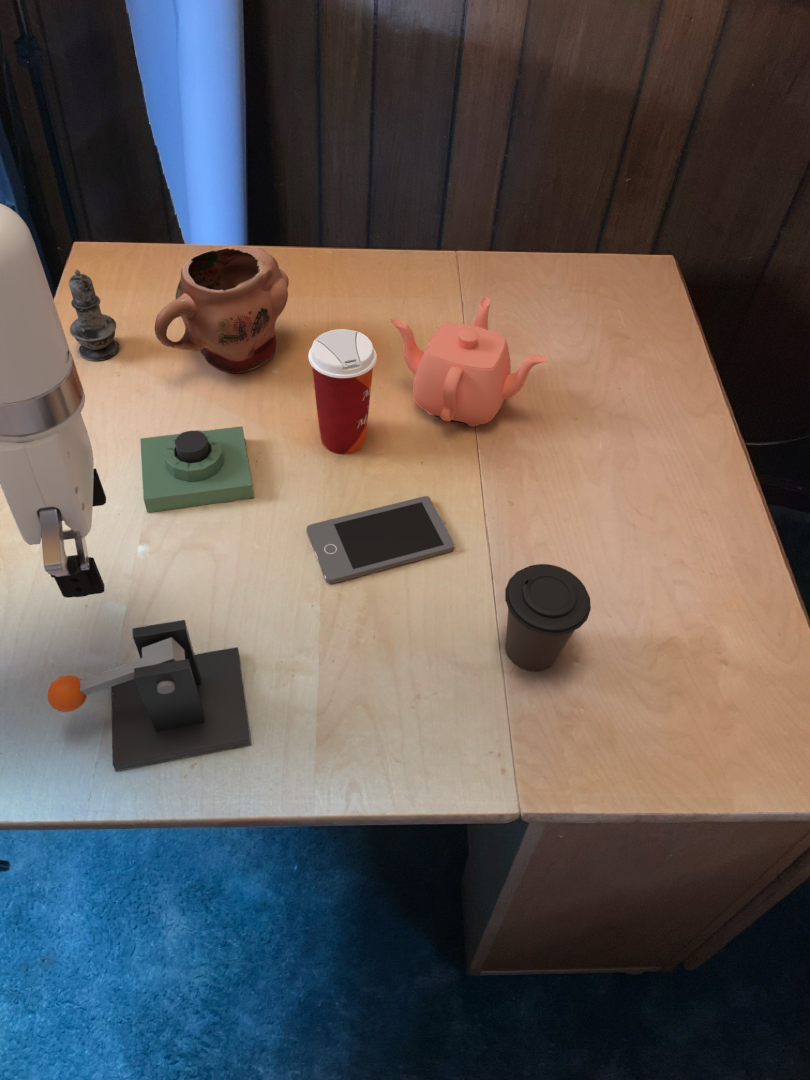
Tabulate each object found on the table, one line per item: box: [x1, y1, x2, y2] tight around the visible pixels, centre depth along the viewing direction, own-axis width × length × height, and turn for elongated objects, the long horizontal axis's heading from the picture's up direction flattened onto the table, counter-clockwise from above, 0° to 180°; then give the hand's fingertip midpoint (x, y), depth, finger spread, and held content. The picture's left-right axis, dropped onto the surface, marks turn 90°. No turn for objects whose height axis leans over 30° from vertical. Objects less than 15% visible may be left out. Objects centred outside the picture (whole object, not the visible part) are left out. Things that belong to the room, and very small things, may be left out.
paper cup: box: [308, 328, 378, 455], centre depth 95 cm, size 8×8×14 cm
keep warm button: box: [175, 430, 209, 463], centre depth 92 cm, size 4×4×2 cm
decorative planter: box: [154, 245, 290, 374], centre depth 104 cm, size 20×12×14 cm, turn 141°
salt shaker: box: [68, 269, 121, 362], centre depth 104 cm, size 6×6×12 cm
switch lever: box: [46, 637, 185, 713], centre depth 69 cm, size 12×3×3 cm, turn 104°
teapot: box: [389, 296, 549, 427], centre depth 102 cm, size 14×14×11 cm
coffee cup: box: [504, 563, 592, 673], centre depth 78 cm, size 8×8×10 cm
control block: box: [139, 426, 255, 513], centre depth 94 cm, size 12×10×4 cm
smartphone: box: [306, 495, 455, 584], centre depth 90 cm, size 15×8×1 cm, turn 111°
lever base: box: [110, 619, 252, 772], centre depth 72 cm, size 12×10×11 cm
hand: (86, 546), depth 68 cm, fingers open, 9 cm apart
